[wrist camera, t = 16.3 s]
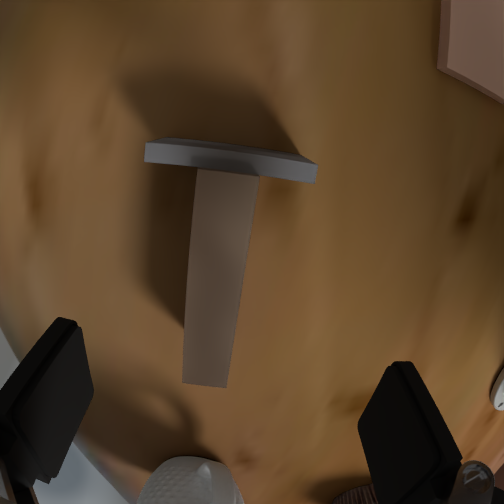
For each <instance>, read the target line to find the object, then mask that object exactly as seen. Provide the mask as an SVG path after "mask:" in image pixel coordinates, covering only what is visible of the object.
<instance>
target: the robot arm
mask: <svg viewBox="0 0 504 504" xmlns="http://www.w3.org/2000/svg"><path fill="white" fill-rule="evenodd" d="M93 393H94V389H93V384H92V379H91V375H90V370H89V365H88V360H87V355H86V350H85V344H84V339H83V333H82V329H81V327H78V325H77V322H76V321H74V320H70V319H66V318H62V317H58V318H57V319H55V321H54V322H53V323H52V324H51V325H50V327H49V328H48V329H47V330H46V331H45V333H44V334H43V335H42V336H41V338H40V339H39V340H38V341H37V343H36V344H35V345H34V346H33V348H32V349H31V350H30V351H29V353H28V354H27V355H26V356H25V358H24V359H23V360H22V362H21V363H20V364H19V366H18V367H17V368H16V369H15V371H14V372H13V373H12V375H11V376H10V377H9V379H8V380H7V382H6V383H5V384H4V386H3V387H2V388H1V390H0V504H39V503H38V500H37V497H36V495H35V492H34V489H33V484H34V482H35V480H36V479H38V480H40V481H43V482H45V483H47V484H49V483H50V480H51V478H55V477H56V476H57V475H58V473H59V470H60V468H61V466H62V464H63V461H64V459H65V457H66V454H67V452H68V450H69V447H70V445H71V443H72V441H73V438H74V436H75V434H76V432H77V430H78V427H79V425H80V423H81V421H82V419H83V417H84V415H85V412H86V410H87V408H88V406H89V404H90V402H91V400H92V397H93ZM491 403H492V405H493V406H494V407H495V409H497V410H504V368H503V370H502V371H501V373H500V374H499V376H498V378H497V380H496V382H495V384H494V386H493V389H492V392H491ZM358 432H359V435H360V439H361V442H362V446H363V449H364V453H365V457H366V460H367V464H368V467H369V471H370V475H371V478H372V482H373V486H374V490H375V494H376V497H377V501H378V504H504V491H503V490H501V489H499V488H497V487H495V486H494V485H495V479H494V475H493V473H492V471H491V469H490V468H489V467H488V466H487V465H486V464H484V463H482V462H480V461H476V460H471V461H467V462H465V463H464V464H463V465H462V464H461V462H460V461H461V459H462V458H463V457H462V455H461V453H460V451H459V449H458V447H457V445H456V443H455V441H454V439H453V437H452V435H451V433H450V431H449V429H448V427H447V425H446V423H445V421H444V419H443V417H442V415H441V413H440V411H439V410H438V408H437V406H436V404H435V402H434V400H433V398H432V397H431V395H430V393H429V391H428V389H427V387H426V386H425V384H424V382H423V380H422V378H421V377H420V375H419V373H418V371H417V369H416V368H415V366H414V364H413V363H412V362H410V361H395V362H393V363H392V364H391V366H388V367H387V368H386V370H385V372H384V374H383V376H382V378H381V380H380V382H379V384H378V386H377V388H376V390H375V392H374V393H373V395H372V397H371V399H370V401H369V403H368V405H367V406H366V408H365V410H364V412H363V413H362V415H361V417H360V419H359V421H358Z"/></svg>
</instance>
